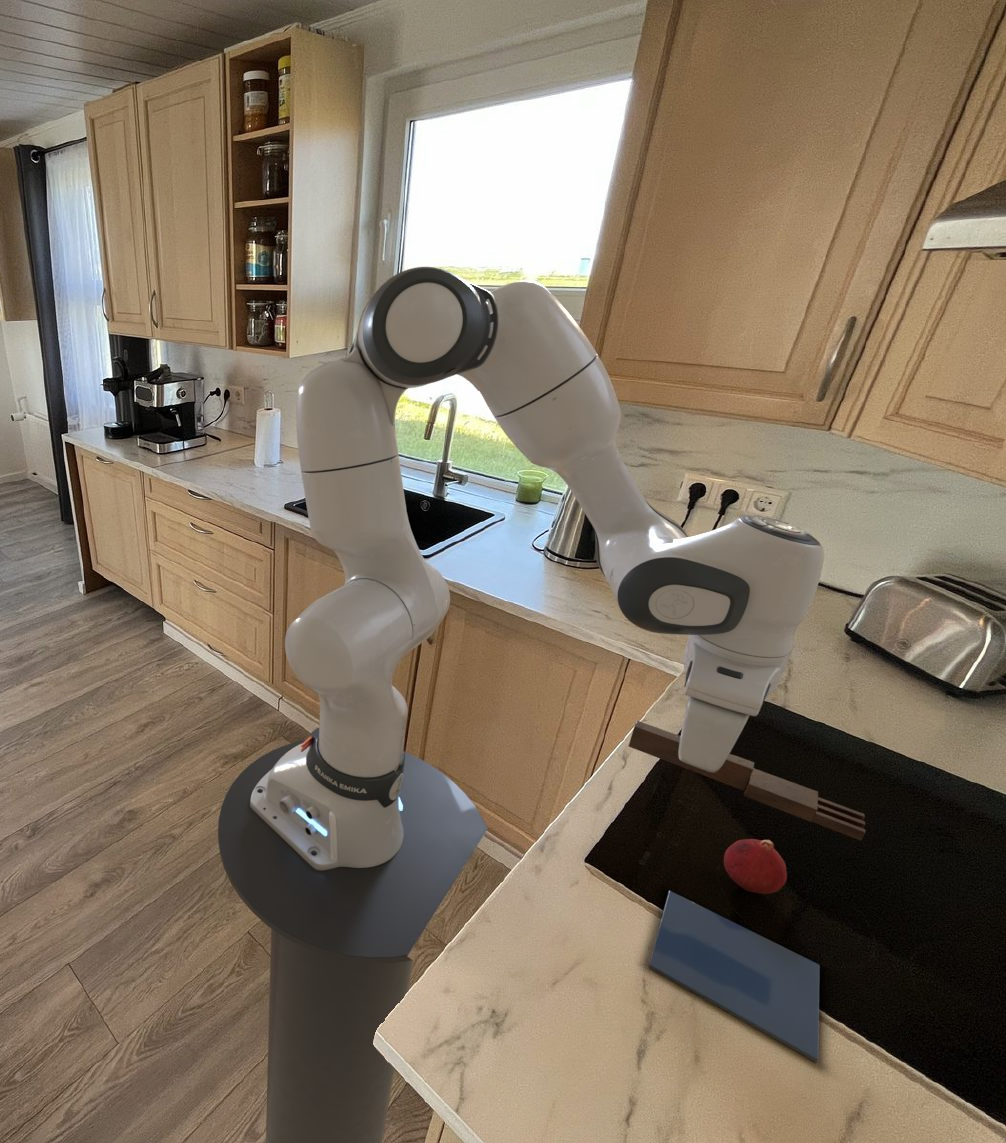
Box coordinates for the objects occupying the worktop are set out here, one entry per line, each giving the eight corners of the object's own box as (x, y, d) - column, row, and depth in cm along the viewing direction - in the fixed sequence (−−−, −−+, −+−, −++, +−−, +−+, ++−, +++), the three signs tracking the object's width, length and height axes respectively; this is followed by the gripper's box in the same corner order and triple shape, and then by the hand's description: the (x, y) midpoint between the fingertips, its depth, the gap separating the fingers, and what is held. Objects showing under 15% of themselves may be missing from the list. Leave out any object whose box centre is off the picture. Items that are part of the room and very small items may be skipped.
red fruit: (715, 892, 75) (737, 845, 72) (715, 860, 80) (736, 814, 76) (776, 918, 72) (801, 869, 69) (772, 882, 77) (796, 835, 73)
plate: (648, 967, 67) (649, 964, 67) (668, 893, 75) (669, 890, 75) (816, 1062, 59) (818, 1059, 59) (818, 967, 67) (819, 964, 67)
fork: (626, 750, 78) (632, 730, 77) (632, 736, 81) (639, 716, 80) (861, 841, 65) (873, 818, 64) (860, 821, 68) (872, 799, 66)
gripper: (711, 617, 78) (681, 706, 84) (684, 688, 64) (650, 790, 70) (774, 632, 74) (738, 725, 80) (760, 712, 60) (718, 818, 66)
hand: (697, 756), depth 75 cm, fingers closed on fork
